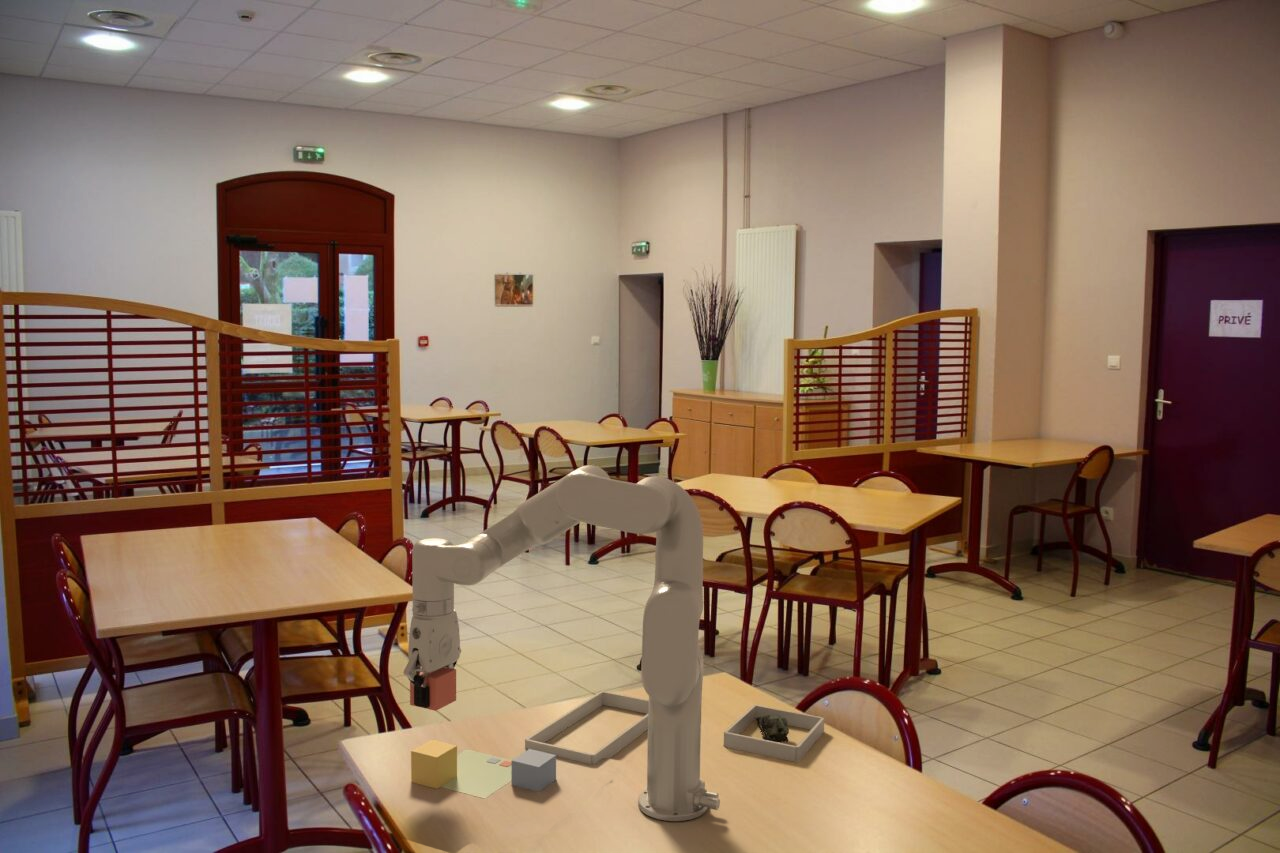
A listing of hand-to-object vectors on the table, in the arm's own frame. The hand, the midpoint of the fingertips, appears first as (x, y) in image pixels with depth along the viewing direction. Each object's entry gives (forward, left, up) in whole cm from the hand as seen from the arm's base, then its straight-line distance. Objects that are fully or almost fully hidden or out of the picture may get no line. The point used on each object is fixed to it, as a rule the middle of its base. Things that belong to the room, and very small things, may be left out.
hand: (433, 699), depth 187 cm
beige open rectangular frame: (-15, -36, -17) cm, 42 cm away
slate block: (-17, -8, -17) cm, 25 cm away
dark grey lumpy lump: (-47, -55, -17) cm, 74 cm away
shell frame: (-49, -52, -17) cm, 73 cm away
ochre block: (0, 0, -15) cm, 15 cm away
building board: (-5, -6, -17) cm, 18 cm away
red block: (0, 0, -1) cm, 1 cm away
